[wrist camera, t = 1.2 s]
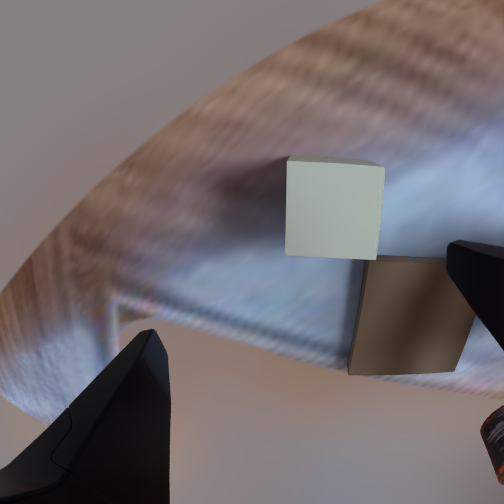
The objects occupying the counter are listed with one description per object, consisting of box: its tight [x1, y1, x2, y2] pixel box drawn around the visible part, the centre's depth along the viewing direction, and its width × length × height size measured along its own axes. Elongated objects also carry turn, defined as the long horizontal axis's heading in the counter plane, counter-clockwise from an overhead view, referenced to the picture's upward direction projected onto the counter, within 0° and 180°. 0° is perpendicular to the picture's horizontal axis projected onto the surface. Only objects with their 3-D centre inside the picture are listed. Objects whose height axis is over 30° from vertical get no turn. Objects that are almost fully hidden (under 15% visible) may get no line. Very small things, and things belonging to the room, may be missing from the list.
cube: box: [285, 156, 385, 260], centre depth 18 cm, size 5×5×5 cm
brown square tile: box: [347, 255, 476, 375], centre depth 22 cm, size 10×10×1 cm
